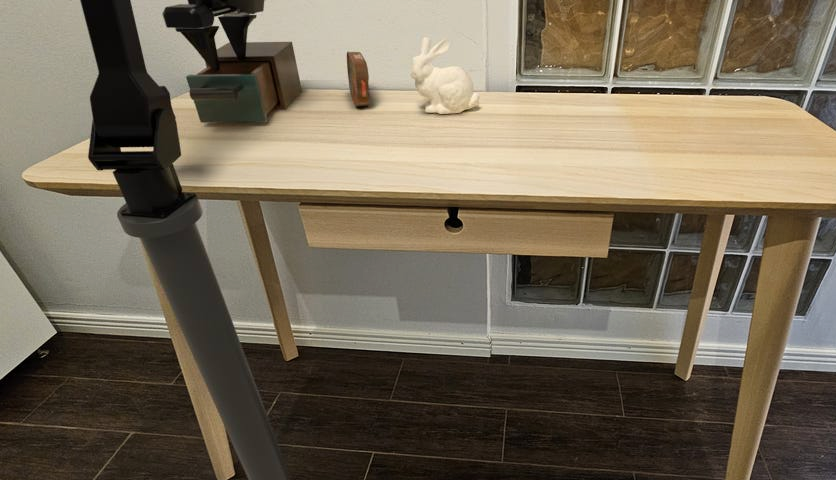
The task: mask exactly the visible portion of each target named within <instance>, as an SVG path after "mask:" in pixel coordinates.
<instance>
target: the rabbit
mask: <svg viewBox="0 0 836 480" xmlns="http://www.w3.org/2000/svg"><path fill="white" fill-rule="evenodd" d="M451 44H452V42H451V39H450V38H448V37H444V38H443V39H442V40H441V41H440V42H438V43H437V44H435V45H434V46H433V47H432V48H431V49H430V47H431V45H432V39H431V37H429V36H425V37H424V38H422V41H421V46H420V47H421V48H420V54H419V55H416V56H413V57H412V58H411V69H410V76H411V78H412V79H414V86H415V88H416V91H417V92H418V93H419V95H420V96H422V97H423V98H424V99H426V100H430V101H427V102H426V103H425V105H424V108H425V109H424V111H425V113H427V114H434V113H436V114H439V115H449V114H460V113H462V112H463V111H466V110H470V109H472V108H474V107H475V106H477V105H478V103H479V102H480V94H479V93H478V92H474V82H473V79H472V77H471V76H470V74H469V73H468V71H466V70H465V69H464V68H462V67H460V66H456V65H453V66H451V65H450V66H447V67H443V68H440V67H438V66H434V65H433V62H432V61H433V60H435V59H436V58H438V57H439V56H441V55H443V54H444V53H446V52H447V51H449V50H450V48H451V46H452V45H451Z"/></svg>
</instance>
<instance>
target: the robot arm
mask: <svg viewBox="0 0 836 480" xmlns="http://www.w3.org/2000/svg"><path fill="white" fill-rule="evenodd" d="M79 1H80V6H81V10H82V14H83V16H84V21H85V25H86V28H87V34H88V37H89V40H90V44H91V48H92V51H93V54H94V59H95V63H96V67H97V72H98V74H97V77H96V80H95V82H94V85H93V87H92V90H91V92H90V95H89V103H90V110H91V116H92V123H91V128H90V137H89V146H88V152H87V154H88V155H87V159H88V161H89V162H90V163H91V164H92V166H93V167H94V168H95V169H96V170H97V172H98V171H99V172H100V171H101V172H102V171H109V170H110V171H112V175H113V177H114V179H115V181H116V183H117V186H118V188H119V190H120V193H121V195H122V197H123V199H124V201H125V203H126V204H127V207H126V208H124V209H123V210H121V211H120V214H121V215H122V216H133V217H145V218H157V219H164V218H167V217H168V216H169V215H171V214H172V213H173V212H175V211H176V210H177V209H178V208H180V207H181V206H182V205H184V204H185V203H186V202H188V201H189V200H190V199H192V198H193V194H192V193H193V192H183V188H182V185H181V182H180V179H179V177H178V174H177V172H176V169H175V166H174V163H175V162H176V161H177V160H179V158H180V157H182V149H181V148H182V147H181V143H180V137H179V130H178V124H177V119H176V118H177V117H176V115H175V113H174V109H173V106H172V100H171V93H170V91H169V90H168V88H167V87H166V86H165V85H159V84H158V83H157V82H156V81H155V79H153V77H152V76H151V74H149V73H148V70H147V67H146V62H145V58H144V54H143V53H144V52H143V50H142V43H141V40H140V36H139V31H138V28H137V27H138V26H137V23H136V19H135V14H134V10H133V5H132V2H131V0H79ZM264 9H265V0H187V3H179V4H174V5H169V6H165V8H164V9H163V12H162V14H161V15H162V18H163V20H164V24H165V27H166V28H168V29H169V28H170V29H175V31H176V32H177V33H180V34H181V35H182V36H183V37H184V38H185V39H186V40H187V41H188V42H189V44H191V45H192V47H193V48H194V50H196V51H197V53H198V54H199V55H200V57H201V58H202V59H203V60H204V62H205V61H206V63H207V64H208V65H209V66H210V68H211V69H212V70H213V71H219V70H220V68H219V60H218V54H217V49H218V48H217V44H216V40H215V36H216V34H217V32H218V31H219V29H220V25H221V27H222V29H223V31H224V33H225V35H226V38H227V39H228V40H227V41H229V42H228V43H230V44H231V46H232V48H233V50H234V52H235V54H236V56H237V58H238V59H239V60H240V61H244V60H245V58H246V43H247V42H248V30H249V26H250V25H251V23H252V22H253V21H254V20H255V19H256V18H257V16H258V15H257V13H263V12H264ZM216 17H217V18H218V21H219V23H220V25H214V23H215V18H216ZM206 63H205V64H206ZM123 148H124V149H125V148H153V149H152V150H132V151H131V150H128V151H126V150H125V151H123V150H122V149H123Z"/></svg>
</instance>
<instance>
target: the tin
mask: <svg viewBox="0 0 836 480" xmlns="http://www.w3.org/2000/svg"><path fill="white" fill-rule="evenodd" d="M346 70H347V78H348V87H349V93H350V96H351V99H352V101H353V105H354V106H355V107H356V108H357V107H367V106H369V105H370V103H371V95H370V86H369V80H370V79H369V78H370V77H369V76H370V75H369V68H368V64H367V61H366V59H365V57H364V56H363V54H362V53H361V51H346Z"/></svg>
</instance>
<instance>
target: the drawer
mask: <svg viewBox="0 0 836 480" xmlns="http://www.w3.org/2000/svg"><path fill="white" fill-rule="evenodd" d="M219 68H220V70H219V71H213V70H212V69H211V68H210V66H208V67H205V68H203V69H201V71H199V72H197V73H196V74H188V75H186V76H185V78H186V81H187V84H188V87H189V97H190V99H191V100H192V101H193V104H194V107H195V110H196V112H197V115H198V119H199V122H200V123H261V122H263V123H265V122H267V121H268V120H269V117H268V114H269V113H270V111H272V110H271V109H272V108H273V107H274V106H275V105H276V104H277V103H278V102H279V97H278V93H277V88H276V84H275V80H274V75H273V71H272V67H271V62H270V61H232V62H219Z"/></svg>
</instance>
